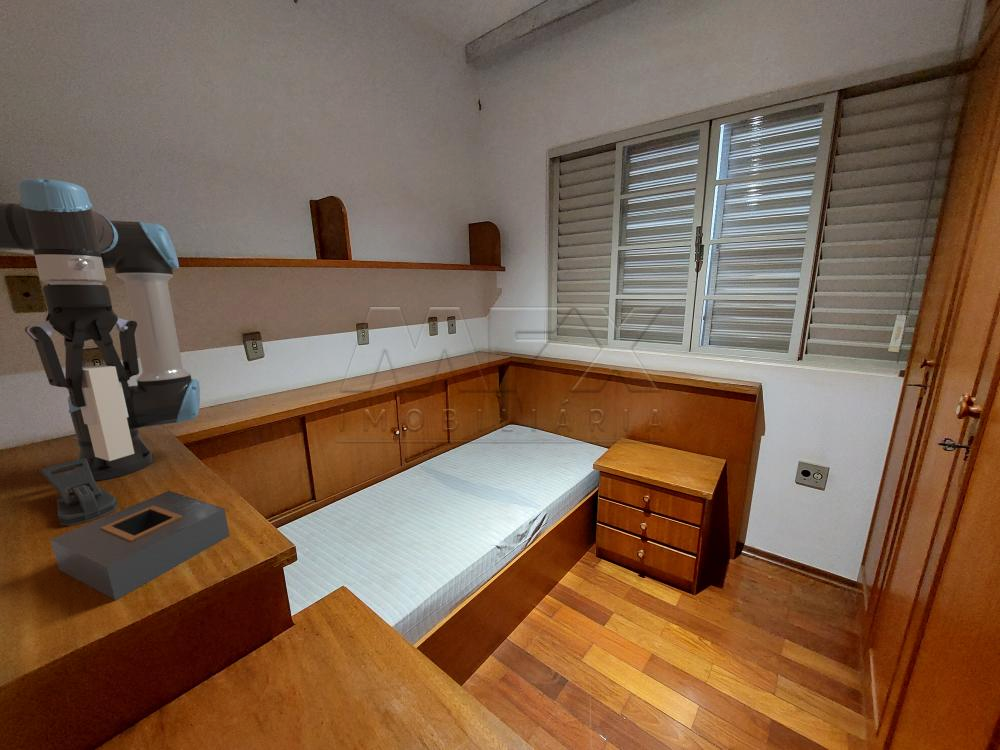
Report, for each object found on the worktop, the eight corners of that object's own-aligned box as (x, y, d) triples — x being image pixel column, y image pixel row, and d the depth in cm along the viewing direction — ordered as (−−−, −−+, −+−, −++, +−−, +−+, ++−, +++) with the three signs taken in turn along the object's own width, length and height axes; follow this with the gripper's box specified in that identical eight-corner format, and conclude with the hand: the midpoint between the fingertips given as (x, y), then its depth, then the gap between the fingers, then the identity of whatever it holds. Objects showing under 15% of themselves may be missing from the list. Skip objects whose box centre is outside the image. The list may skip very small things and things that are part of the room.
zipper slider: (88, 456, 101) (115, 483, 87) (94, 480, 103) (122, 510, 88) (35, 469, 94) (55, 501, 80) (43, 494, 96) (63, 530, 81)
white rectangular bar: (95, 456, 71) (73, 368, 68) (119, 449, 74) (100, 364, 71) (109, 461, 69) (88, 370, 66) (134, 453, 72) (115, 366, 69)
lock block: (59, 569, 70) (49, 538, 68) (174, 516, 86) (168, 489, 85) (115, 600, 63) (106, 565, 62) (229, 535, 79) (224, 507, 78)
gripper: (8, 282, 56) (50, 439, 61) (148, 283, 71) (173, 409, 76) (-13, 283, 59) (28, 432, 64) (126, 284, 74) (151, 405, 79)
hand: (106, 420), depth 70 cm, fingers closed on white rectangular bar, 3 cm apart
